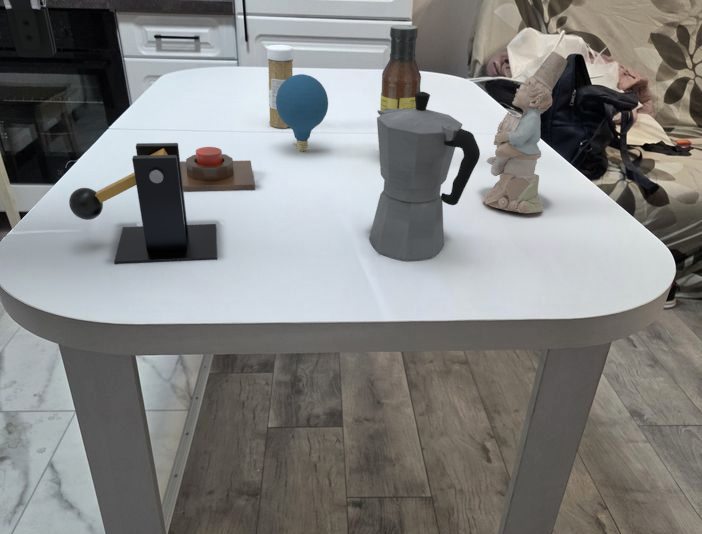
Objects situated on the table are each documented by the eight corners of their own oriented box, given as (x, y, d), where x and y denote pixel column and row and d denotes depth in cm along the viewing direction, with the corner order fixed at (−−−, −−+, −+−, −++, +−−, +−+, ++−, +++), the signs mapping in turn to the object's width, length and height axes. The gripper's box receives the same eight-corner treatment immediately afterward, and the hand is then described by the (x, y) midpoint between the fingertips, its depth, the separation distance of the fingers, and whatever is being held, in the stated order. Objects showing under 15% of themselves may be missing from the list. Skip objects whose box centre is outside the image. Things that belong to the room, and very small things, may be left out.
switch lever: (80, 229, 68) (59, 203, 66) (85, 217, 70) (65, 191, 68) (177, 180, 67) (159, 152, 65) (178, 169, 69) (161, 142, 67)
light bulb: (291, 162, 99) (290, 83, 92) (268, 147, 105) (266, 71, 98) (336, 155, 103) (338, 78, 96) (311, 141, 109) (312, 67, 102)
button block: (167, 198, 85) (163, 173, 83) (170, 172, 93) (167, 149, 91) (255, 196, 87) (254, 171, 85) (251, 171, 95) (250, 148, 93)
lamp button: (196, 167, 87) (195, 155, 86) (196, 159, 90) (195, 146, 89) (222, 167, 87) (221, 154, 86) (222, 158, 90) (221, 146, 89)
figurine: (541, 198, 92) (575, 50, 80) (543, 220, 85) (581, 63, 74) (480, 191, 93) (506, 44, 82) (478, 212, 86) (505, 56, 75)
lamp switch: (115, 271, 68) (95, 165, 61) (124, 235, 75) (106, 137, 69) (217, 266, 70) (208, 163, 63) (216, 232, 77) (208, 136, 71)
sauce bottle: (418, 156, 105) (432, 25, 93) (412, 168, 100) (427, 31, 88) (380, 151, 106) (389, 21, 94) (372, 163, 101) (381, 27, 89)
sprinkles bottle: (273, 120, 118) (271, 43, 110) (296, 123, 117) (296, 45, 109) (265, 127, 114) (263, 47, 106) (289, 130, 114) (289, 49, 106)
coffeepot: (343, 234, 79) (349, 83, 68) (398, 217, 84) (411, 74, 73) (429, 284, 69) (452, 118, 59) (485, 262, 74) (515, 105, 64)
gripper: (-42, -193, 54) (15, 40, 65) (-114, -219, 42) (-30, 72, 53) (50, -186, 55) (91, 41, 66) (6, -209, 43) (64, 73, 54)
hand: (37, 55), depth 59 cm, fingers closed
